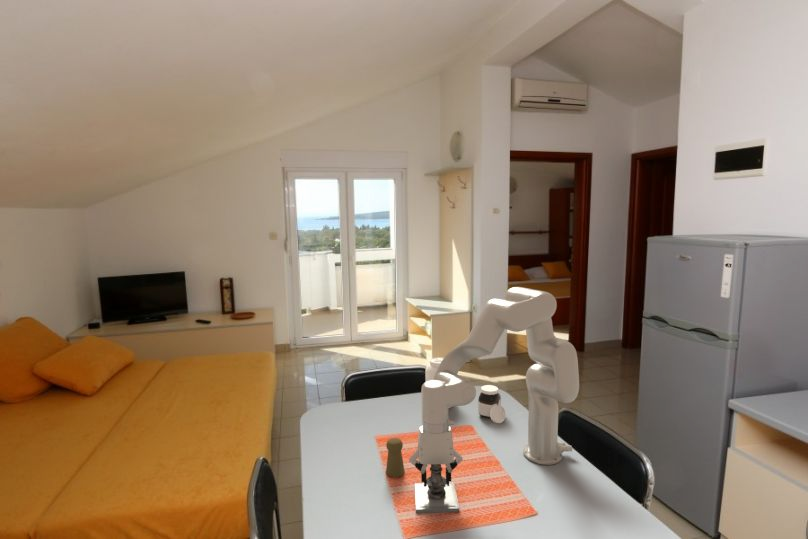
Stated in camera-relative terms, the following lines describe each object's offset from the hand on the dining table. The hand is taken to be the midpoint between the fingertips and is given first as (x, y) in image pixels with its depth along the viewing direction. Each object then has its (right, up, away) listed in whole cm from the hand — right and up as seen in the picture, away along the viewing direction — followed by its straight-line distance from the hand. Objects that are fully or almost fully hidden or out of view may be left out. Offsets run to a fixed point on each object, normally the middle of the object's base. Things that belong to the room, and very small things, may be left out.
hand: (436, 482), depth 130 cm
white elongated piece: (+6, +3, +65) cm, 65 cm away
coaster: (0, -5, 0) cm, 5 cm away
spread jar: (+27, +2, +51) cm, 58 cm away
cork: (-12, -4, +14) cm, 19 cm away
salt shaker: (0, -3, 0) cm, 3 cm away
